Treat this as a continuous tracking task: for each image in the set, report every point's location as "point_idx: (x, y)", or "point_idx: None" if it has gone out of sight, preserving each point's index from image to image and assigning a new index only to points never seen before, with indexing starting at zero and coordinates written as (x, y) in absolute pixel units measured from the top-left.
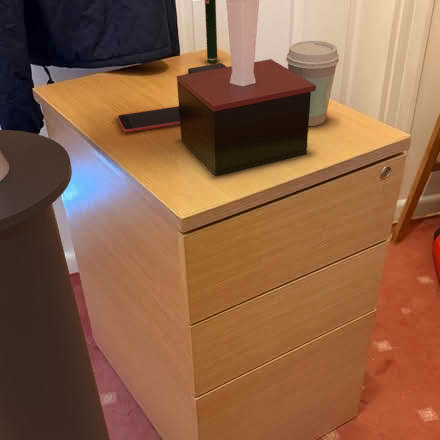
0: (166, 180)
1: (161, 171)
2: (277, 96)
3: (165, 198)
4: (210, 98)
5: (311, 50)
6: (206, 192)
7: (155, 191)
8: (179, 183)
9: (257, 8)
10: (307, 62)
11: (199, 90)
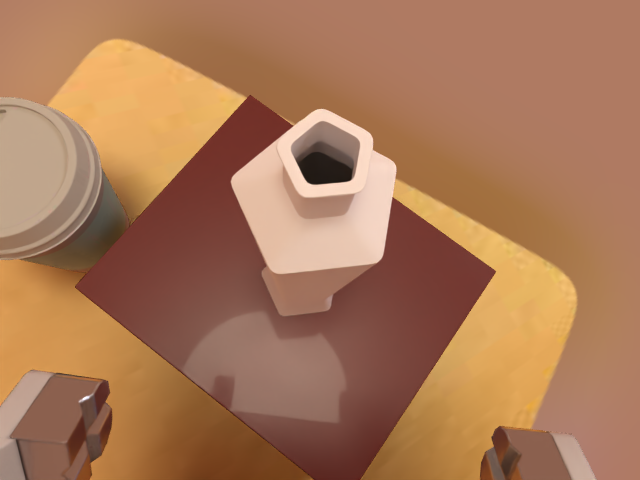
0: (498, 386)
1: (472, 420)
2: None
3: (555, 347)
4: (456, 302)
5: (20, 165)
6: (496, 287)
7: (545, 381)
8: (494, 354)
9: (310, 155)
10: (90, 163)
11: (420, 362)
